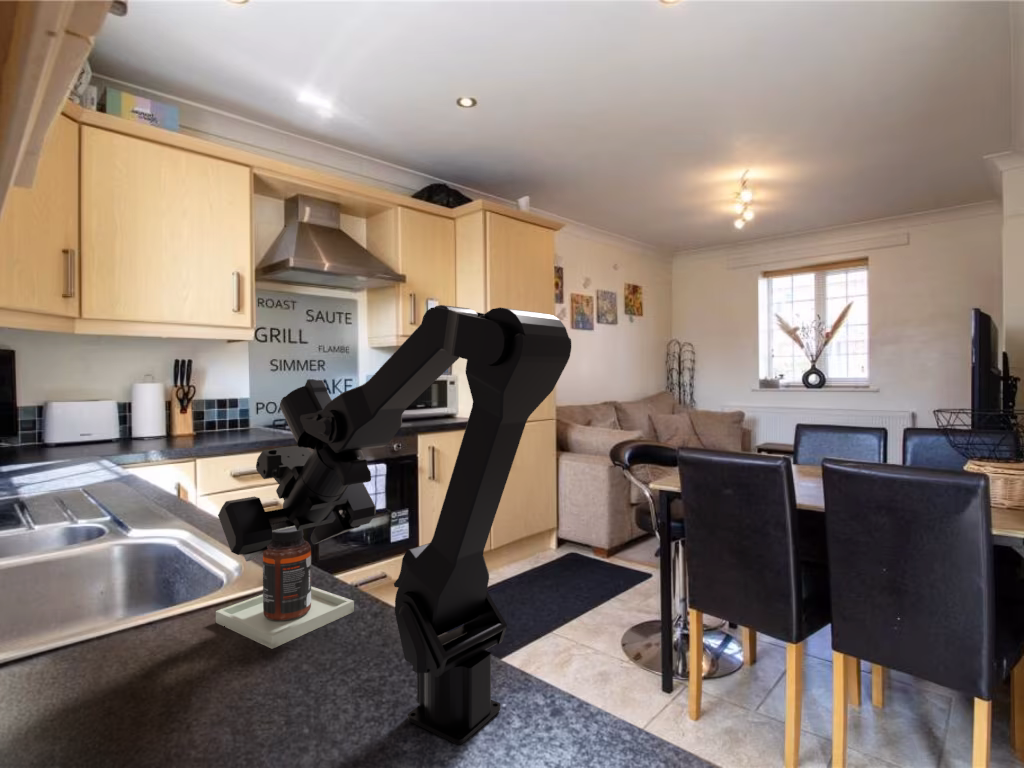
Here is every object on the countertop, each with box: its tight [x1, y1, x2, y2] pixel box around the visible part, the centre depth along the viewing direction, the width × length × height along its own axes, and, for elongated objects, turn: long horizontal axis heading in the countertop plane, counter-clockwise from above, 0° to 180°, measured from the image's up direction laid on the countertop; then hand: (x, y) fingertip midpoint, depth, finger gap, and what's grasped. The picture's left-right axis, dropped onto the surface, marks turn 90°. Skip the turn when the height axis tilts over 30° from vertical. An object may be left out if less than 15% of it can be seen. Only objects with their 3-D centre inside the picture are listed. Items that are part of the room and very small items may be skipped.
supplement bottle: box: [262, 527, 312, 621], centre depth 74 cm, size 6×6×11 cm
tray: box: [215, 585, 355, 650], centre depth 74 cm, size 12×12×2 cm
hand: (281, 549), depth 75 cm, fingers open, 9 cm apart
